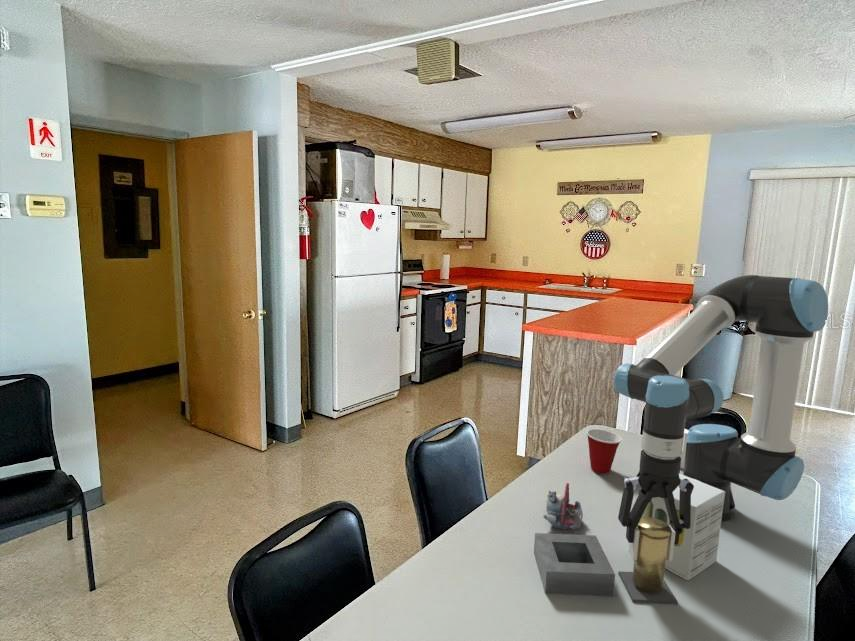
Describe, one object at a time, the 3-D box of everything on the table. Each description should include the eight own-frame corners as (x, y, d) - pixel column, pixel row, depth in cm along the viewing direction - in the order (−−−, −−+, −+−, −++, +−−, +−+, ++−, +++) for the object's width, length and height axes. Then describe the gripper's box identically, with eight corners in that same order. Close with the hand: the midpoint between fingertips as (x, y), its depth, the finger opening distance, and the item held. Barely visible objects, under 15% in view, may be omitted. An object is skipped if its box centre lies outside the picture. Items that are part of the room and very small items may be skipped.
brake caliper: (590, 530, 128) (562, 488, 129) (552, 547, 132) (525, 506, 133) (593, 508, 139) (567, 469, 140) (557, 525, 143) (533, 487, 144)
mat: (659, 575, 116) (659, 573, 116) (677, 604, 107) (677, 601, 107) (618, 573, 116) (618, 571, 116) (632, 602, 107) (633, 599, 107)
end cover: (657, 573, 114) (663, 517, 112) (669, 593, 108) (676, 535, 106) (626, 571, 115) (631, 516, 112) (637, 592, 108) (643, 533, 106)
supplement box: (632, 551, 124) (639, 482, 122) (663, 534, 132) (670, 468, 129) (687, 582, 114) (696, 507, 111) (717, 561, 121) (726, 490, 119)
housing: (594, 555, 122) (595, 535, 122) (613, 596, 109) (615, 574, 108) (533, 552, 123) (535, 532, 122) (544, 593, 109) (546, 571, 108)
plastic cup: (624, 478, 162) (627, 441, 160) (588, 477, 162) (592, 440, 160) (612, 463, 173) (615, 428, 171) (579, 462, 173) (582, 427, 171)
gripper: (618, 458, 103) (608, 565, 107) (719, 462, 102) (706, 569, 106) (606, 443, 110) (598, 544, 114) (701, 447, 110) (689, 547, 114)
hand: (650, 556), depth 110 cm, fingers closed on end cover, 7 cm apart
